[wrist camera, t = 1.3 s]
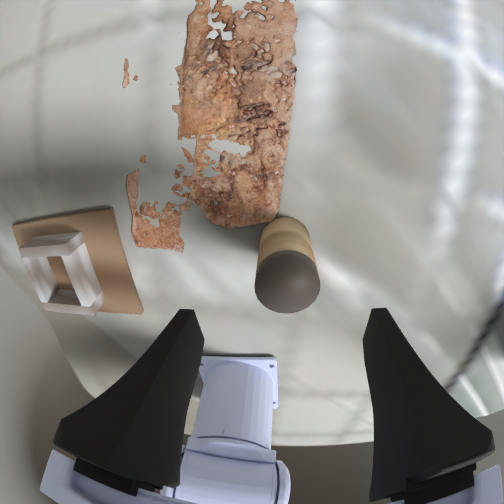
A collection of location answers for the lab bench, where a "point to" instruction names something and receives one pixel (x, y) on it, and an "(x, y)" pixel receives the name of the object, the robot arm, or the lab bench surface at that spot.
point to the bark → (229, 119)
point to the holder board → (78, 263)
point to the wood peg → (286, 267)
